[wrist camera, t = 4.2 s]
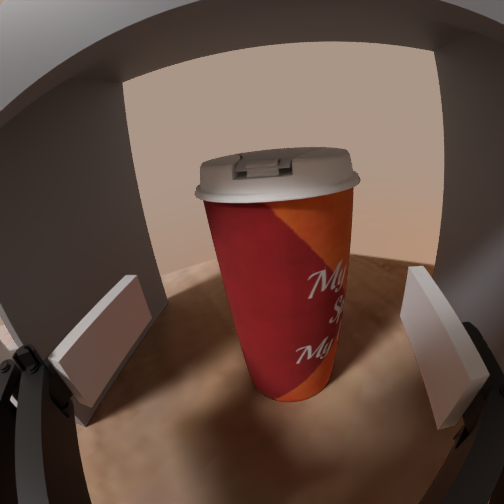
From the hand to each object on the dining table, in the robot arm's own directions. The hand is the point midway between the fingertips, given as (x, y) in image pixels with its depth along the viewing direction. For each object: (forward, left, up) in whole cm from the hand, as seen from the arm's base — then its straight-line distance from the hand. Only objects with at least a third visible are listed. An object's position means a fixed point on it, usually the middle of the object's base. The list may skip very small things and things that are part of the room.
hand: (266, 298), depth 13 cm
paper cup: (-1, -3, -8) cm, 9 cm away
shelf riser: (-1, -3, -8) cm, 8 cm away
